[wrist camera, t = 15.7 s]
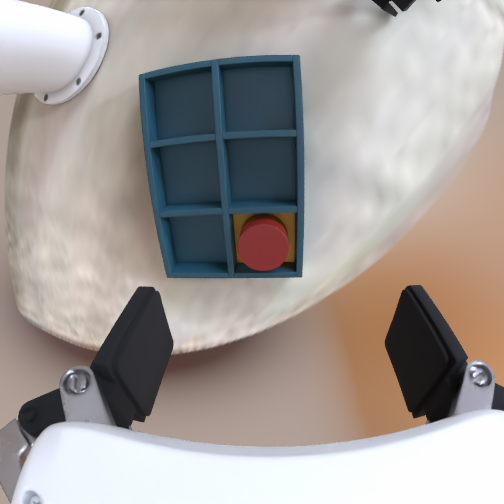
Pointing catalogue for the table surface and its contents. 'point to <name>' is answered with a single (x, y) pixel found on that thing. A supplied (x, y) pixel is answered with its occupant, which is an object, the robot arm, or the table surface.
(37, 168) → the table surface
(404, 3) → the toy
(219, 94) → the grid
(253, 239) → the cylinder
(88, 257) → the table surface
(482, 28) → the table surface
